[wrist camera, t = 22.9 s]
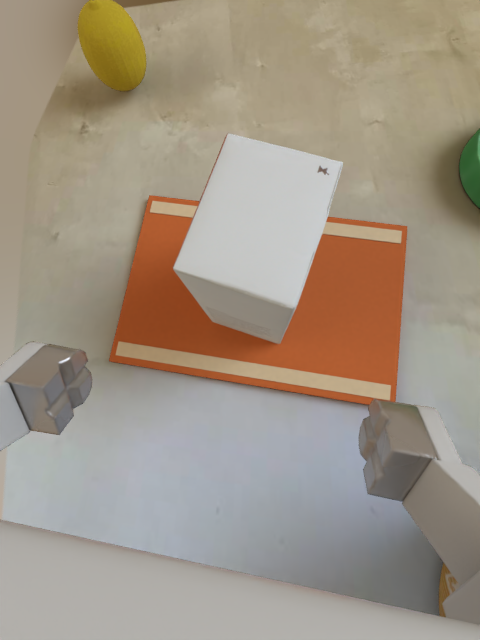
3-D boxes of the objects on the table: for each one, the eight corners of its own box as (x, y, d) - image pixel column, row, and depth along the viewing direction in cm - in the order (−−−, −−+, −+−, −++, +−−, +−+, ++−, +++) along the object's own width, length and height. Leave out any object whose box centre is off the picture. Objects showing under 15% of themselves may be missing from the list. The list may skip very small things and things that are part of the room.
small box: (240, 240, 29) (226, 127, 17) (308, 260, 29) (348, 158, 16) (209, 323, 28) (168, 269, 15) (279, 346, 27) (299, 311, 14)
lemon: (163, 97, 34) (135, 10, 26) (114, 117, 34) (70, 35, 26) (146, 59, 35) (113, -36, 27) (98, 78, 35) (52, -12, 27)
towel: (111, 361, 28) (108, 361, 28) (151, 198, 31) (148, 194, 31) (392, 408, 26) (395, 409, 25) (404, 229, 29) (408, 225, 29)
